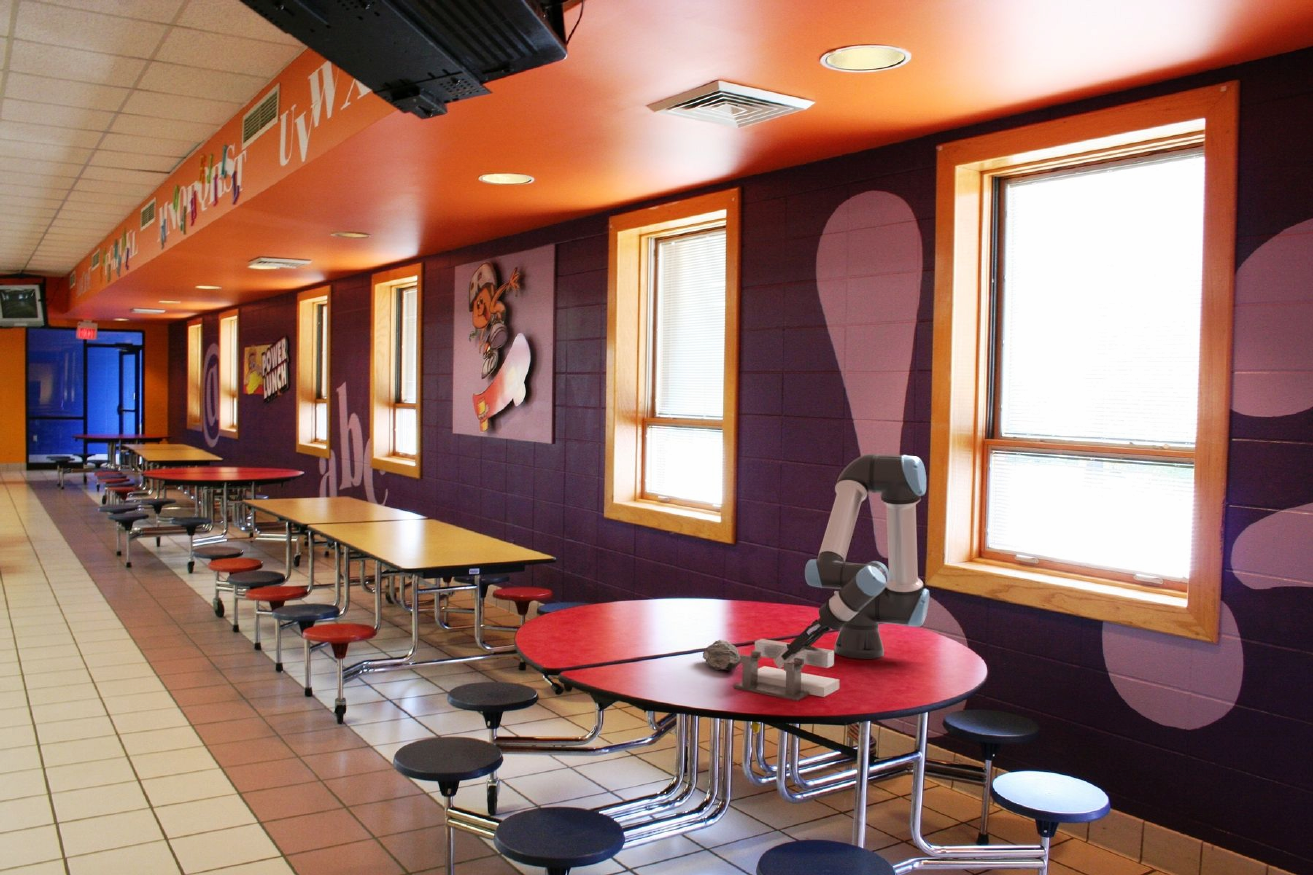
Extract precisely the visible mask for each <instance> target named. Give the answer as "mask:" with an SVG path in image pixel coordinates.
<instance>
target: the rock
mask: <svg viewBox="0 0 1313 875" xmlns="http://www.w3.org/2000/svg"><path fill="white" fill-rule="evenodd" d="M740 655H741V654H740V651H739V650H738V648H737V647H736V646H735V645H733V644H732V643H731V642H730V641H727V640H724V639H719V640H715V641H714V642H713V643H712V644H709V645H708V646H707V647H706V648H705V650H703V653H702V658H703V659H704V660H705V663H706V664H707V665H709V666H711V667H713V668H714V669H716V670H726V671H728V672H729V671H730V672H731V671H733V670H735V668H736V667H737V666H739V665H740V664H741V663H740Z"/></svg>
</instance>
